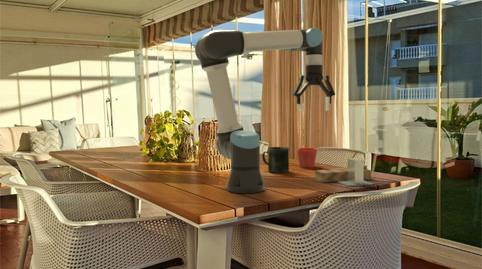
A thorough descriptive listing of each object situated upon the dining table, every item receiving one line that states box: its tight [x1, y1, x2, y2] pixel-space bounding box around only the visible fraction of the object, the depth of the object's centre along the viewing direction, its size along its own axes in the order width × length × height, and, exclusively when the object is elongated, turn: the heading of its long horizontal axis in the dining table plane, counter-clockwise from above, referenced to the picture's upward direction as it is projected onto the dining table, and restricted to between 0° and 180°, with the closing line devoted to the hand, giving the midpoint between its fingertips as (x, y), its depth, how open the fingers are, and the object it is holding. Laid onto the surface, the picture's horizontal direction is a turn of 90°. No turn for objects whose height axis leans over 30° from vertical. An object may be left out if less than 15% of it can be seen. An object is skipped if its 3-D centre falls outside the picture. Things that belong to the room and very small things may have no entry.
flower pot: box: [296, 147, 318, 168], centre depth 223 cm, size 11×11×10 cm
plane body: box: [314, 164, 372, 183], centre depth 186 cm, size 24×7×6 cm, turn 104°
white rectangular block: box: [347, 157, 365, 184], centre depth 175 cm, size 4×6×10 cm, turn 14°
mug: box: [261, 146, 290, 174], centre depth 209 cm, size 11×15×12 cm
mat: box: [337, 179, 374, 187], centre depth 175 cm, size 12×9×1 cm
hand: (313, 111), depth 190 cm, fingers open, 13 cm apart
